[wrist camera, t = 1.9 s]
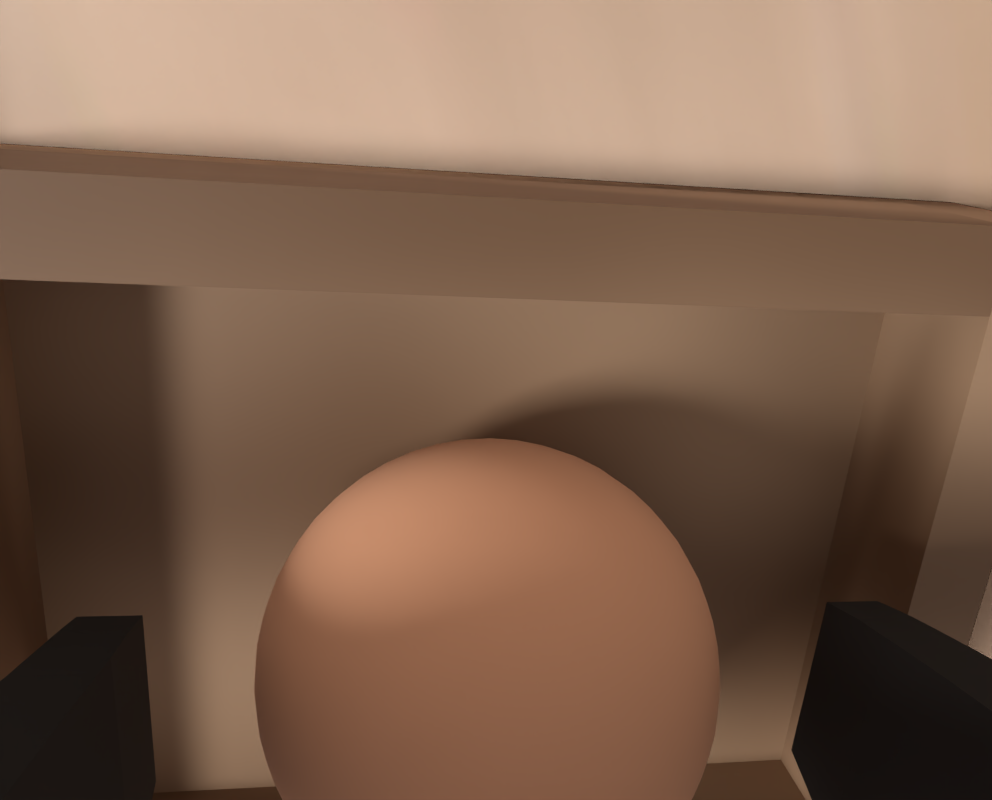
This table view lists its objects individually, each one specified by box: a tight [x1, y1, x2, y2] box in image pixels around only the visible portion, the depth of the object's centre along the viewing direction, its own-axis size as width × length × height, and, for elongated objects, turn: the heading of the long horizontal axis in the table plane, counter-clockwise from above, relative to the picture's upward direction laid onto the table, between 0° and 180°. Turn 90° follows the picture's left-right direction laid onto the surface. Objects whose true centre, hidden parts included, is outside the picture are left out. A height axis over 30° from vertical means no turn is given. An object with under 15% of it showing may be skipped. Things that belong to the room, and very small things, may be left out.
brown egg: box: [254, 438, 720, 800], centre depth 9 cm, size 5×5×5 cm
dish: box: [0, 144, 992, 800], centre depth 11 cm, size 10×13×2 cm
